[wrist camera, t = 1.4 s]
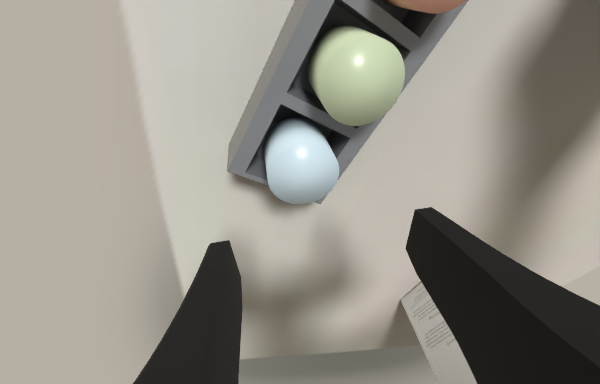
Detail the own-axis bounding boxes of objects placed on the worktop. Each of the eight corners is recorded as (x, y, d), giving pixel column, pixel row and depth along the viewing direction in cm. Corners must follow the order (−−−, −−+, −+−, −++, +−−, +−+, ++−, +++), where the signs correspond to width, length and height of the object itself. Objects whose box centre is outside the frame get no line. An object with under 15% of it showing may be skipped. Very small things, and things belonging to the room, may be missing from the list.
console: (581, -229, 11) (681, -289, 8) (310, 177, 20) (320, 205, 18) (487, -420, 8) (590, -584, 6) (229, 144, 17) (226, 172, 15)
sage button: (391, 50, 14) (422, 65, 11) (350, 113, 15) (369, 137, 13) (332, 8, 12) (354, 16, 10) (293, 82, 14) (304, 104, 12)
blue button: (336, 133, 16) (353, 160, 14) (305, 180, 18) (315, 212, 15) (281, 105, 15) (289, 131, 12) (253, 160, 16) (255, 192, 14)
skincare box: (483, 280, 33) (628, 462, 21) (442, 311, 36) (546, 486, 24) (435, 265, 29) (575, 473, 17) (394, 301, 32) (487, 499, 20)
